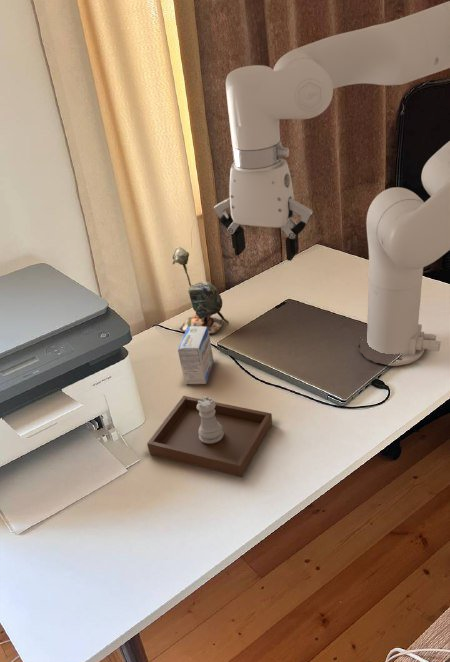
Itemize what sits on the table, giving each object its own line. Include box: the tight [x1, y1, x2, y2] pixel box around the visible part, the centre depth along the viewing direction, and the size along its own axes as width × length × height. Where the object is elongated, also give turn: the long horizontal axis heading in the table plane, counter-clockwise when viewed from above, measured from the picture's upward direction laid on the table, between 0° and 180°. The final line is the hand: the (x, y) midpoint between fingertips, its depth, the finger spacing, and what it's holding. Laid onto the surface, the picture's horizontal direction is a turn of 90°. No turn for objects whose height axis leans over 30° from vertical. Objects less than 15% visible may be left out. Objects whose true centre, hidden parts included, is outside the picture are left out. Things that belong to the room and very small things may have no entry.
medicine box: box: [177, 326, 215, 385], centre depth 124 cm, size 8×4×9 cm, turn 168°
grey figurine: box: [171, 246, 230, 334], centre depth 133 cm, size 8×11×20 cm
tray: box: [146, 395, 274, 478], centre depth 110 cm, size 18×14×3 cm
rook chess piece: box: [197, 396, 224, 444], centre depth 108 cm, size 4×4×8 cm
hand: (265, 254), depth 110 cm, fingers open, 9 cm apart
